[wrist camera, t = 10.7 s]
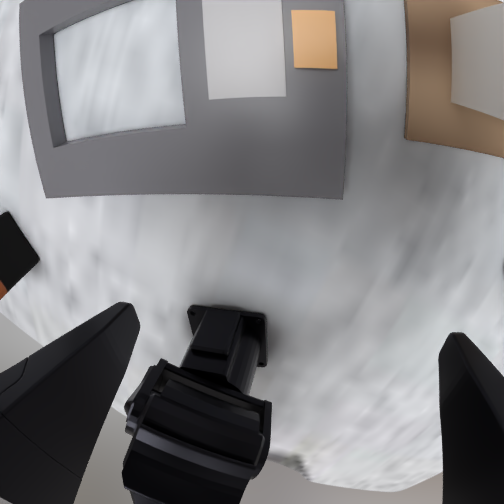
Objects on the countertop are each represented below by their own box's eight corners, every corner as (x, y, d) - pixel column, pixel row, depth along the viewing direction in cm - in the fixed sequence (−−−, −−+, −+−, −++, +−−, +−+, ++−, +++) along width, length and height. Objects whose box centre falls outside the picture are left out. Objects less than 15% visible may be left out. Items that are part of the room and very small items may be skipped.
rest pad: (523, 161, 13) (527, 164, 13) (404, 137, 15) (406, 139, 14) (528, 17, 8) (533, 16, 7) (401, -26, 10) (403, -29, 9)
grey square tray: (341, 189, 18) (343, 205, 16) (57, 190, 22) (39, 202, 20) (331, -79, 8) (331, -96, 7) (33, 3, 13) (12, 4, 11)
